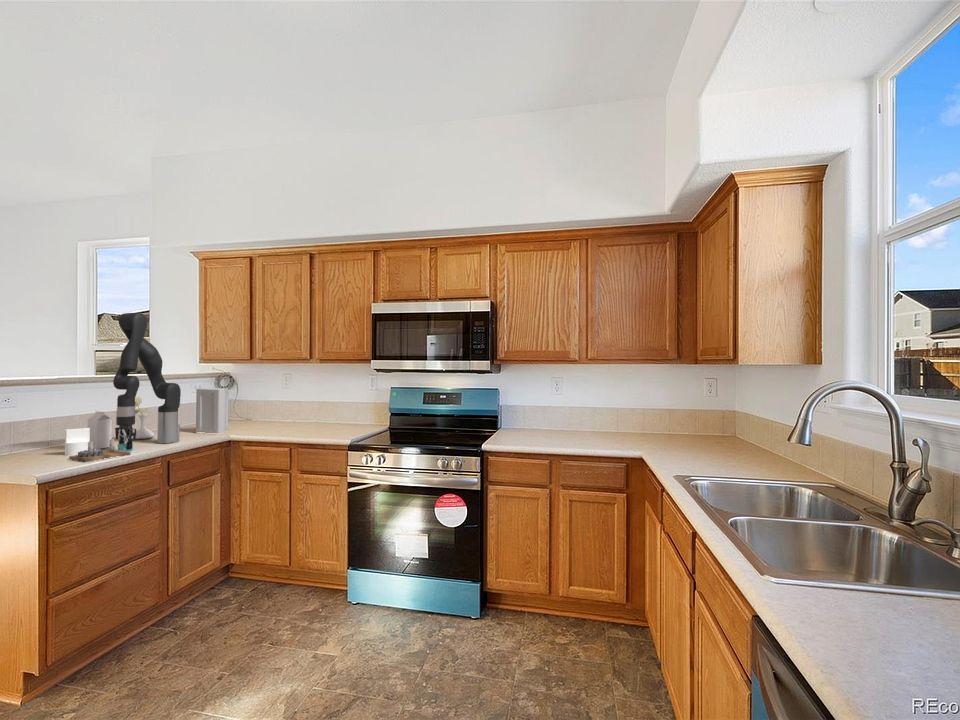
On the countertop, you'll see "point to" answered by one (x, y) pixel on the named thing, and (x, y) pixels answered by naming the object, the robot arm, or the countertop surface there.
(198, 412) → the grey box
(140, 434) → the flower in vase
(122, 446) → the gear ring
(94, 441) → the milk carton
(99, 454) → the gear board
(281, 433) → the countertop surface
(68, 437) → the base with upright slab
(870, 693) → the countertop surface
